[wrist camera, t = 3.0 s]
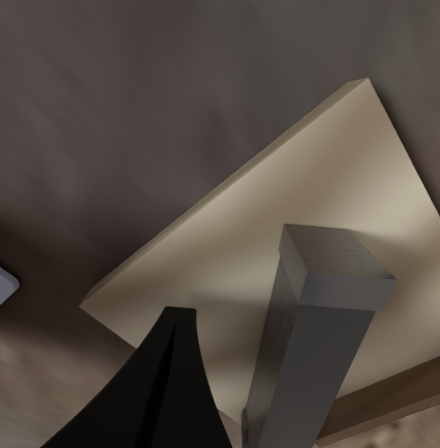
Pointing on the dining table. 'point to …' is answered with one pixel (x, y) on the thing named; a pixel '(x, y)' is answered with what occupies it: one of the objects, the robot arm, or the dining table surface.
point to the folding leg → (311, 333)
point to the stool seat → (269, 257)
